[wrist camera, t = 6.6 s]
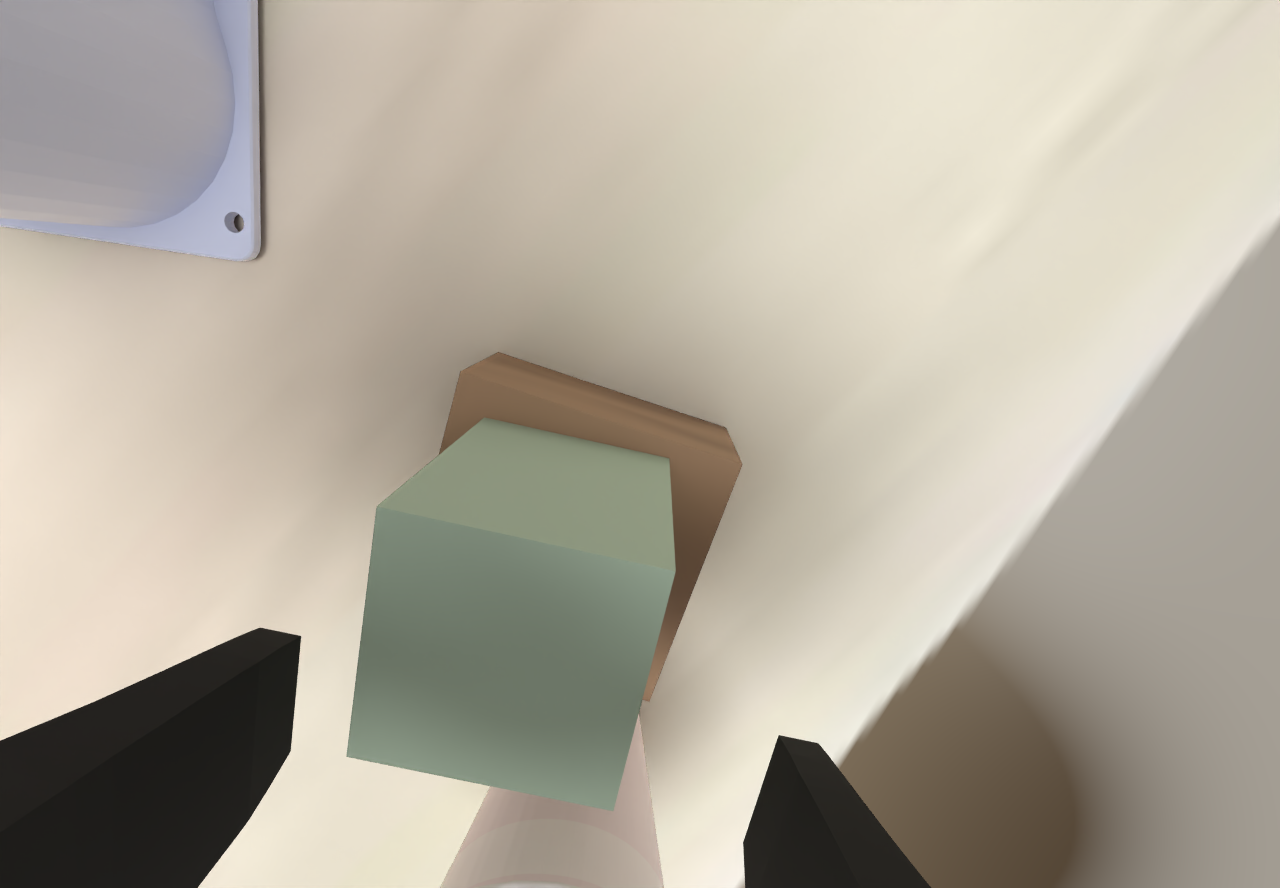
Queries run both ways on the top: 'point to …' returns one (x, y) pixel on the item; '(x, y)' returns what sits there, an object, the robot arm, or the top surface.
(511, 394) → the walnut block
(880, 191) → the top surface
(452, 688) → the sage block
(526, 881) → the smoothie
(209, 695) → the robot arm
